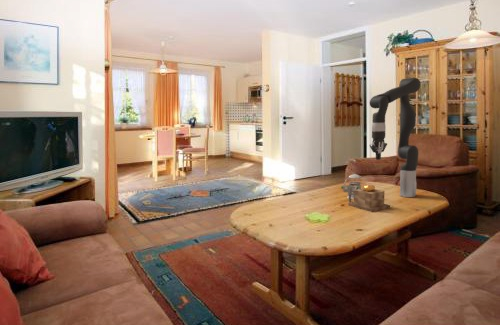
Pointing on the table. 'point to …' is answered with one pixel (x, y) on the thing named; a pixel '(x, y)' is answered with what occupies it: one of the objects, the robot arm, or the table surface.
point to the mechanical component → (349, 190)
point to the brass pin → (369, 188)
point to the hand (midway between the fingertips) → (378, 159)
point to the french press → (353, 183)
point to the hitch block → (369, 200)
